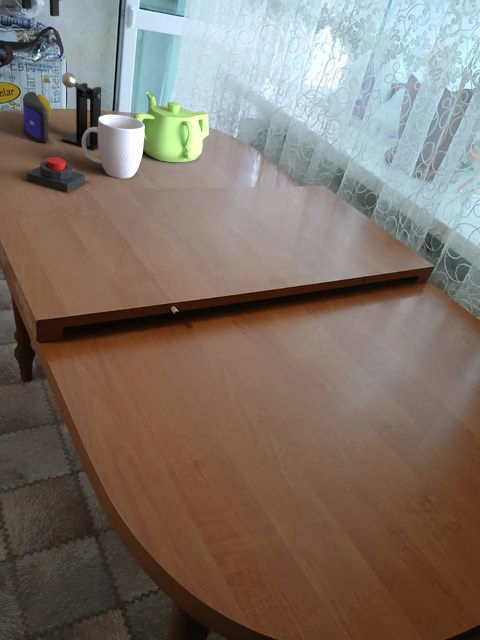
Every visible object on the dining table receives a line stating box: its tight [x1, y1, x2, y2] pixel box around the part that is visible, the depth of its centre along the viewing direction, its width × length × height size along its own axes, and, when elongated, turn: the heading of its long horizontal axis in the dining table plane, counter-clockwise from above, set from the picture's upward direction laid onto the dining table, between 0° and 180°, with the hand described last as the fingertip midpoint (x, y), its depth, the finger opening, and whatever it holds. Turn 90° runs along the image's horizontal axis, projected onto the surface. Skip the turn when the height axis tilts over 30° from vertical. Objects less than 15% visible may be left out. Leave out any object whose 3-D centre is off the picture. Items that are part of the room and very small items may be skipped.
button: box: [46, 157, 66, 170], centre depth 126 cm, size 4×4×2 cm
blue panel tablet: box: [22, 91, 49, 144], centre depth 147 cm, size 16×5×9 cm, turn 28°
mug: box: [81, 114, 144, 179], centre depth 136 cm, size 15×11×13 cm
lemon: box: [37, 93, 52, 121], centre depth 156 cm, size 6×6×8 cm
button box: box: [26, 160, 86, 193], centre depth 127 cm, size 10×8×4 cm
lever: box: [61, 72, 92, 100], centre depth 141 cm, size 14×3×3 cm, turn 165°
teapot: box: [133, 91, 210, 163], centre depth 154 cm, size 19×20×14 cm
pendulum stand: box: [62, 82, 102, 151], centre depth 149 cm, size 12×9×15 cm
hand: (40, 11), depth 128 cm, fingers open, 6 cm apart
